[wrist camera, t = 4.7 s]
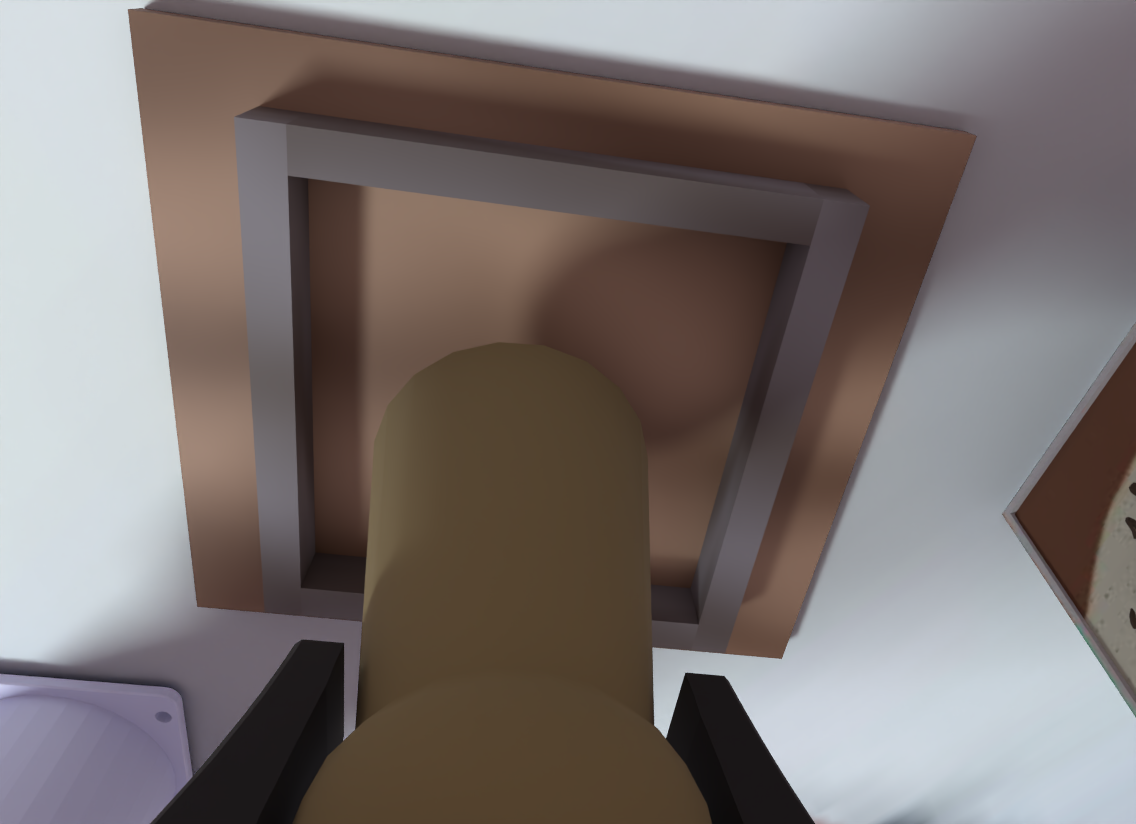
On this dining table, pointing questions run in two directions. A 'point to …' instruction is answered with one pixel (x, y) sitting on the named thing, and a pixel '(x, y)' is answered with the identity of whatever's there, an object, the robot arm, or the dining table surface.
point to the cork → (507, 609)
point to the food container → (1091, 517)
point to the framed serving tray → (520, 295)
